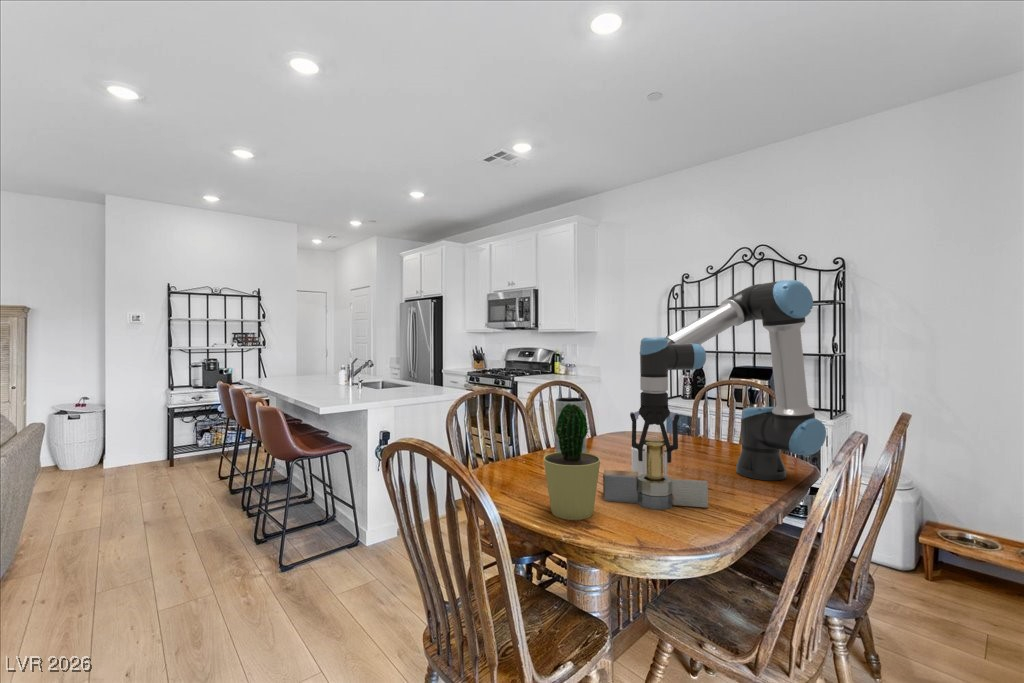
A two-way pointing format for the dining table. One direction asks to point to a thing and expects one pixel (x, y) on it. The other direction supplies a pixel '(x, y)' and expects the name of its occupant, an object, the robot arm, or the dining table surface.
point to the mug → (638, 464)
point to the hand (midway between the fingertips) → (654, 473)
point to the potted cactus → (572, 468)
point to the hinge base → (632, 493)
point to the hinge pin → (654, 459)
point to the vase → (559, 406)
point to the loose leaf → (676, 490)
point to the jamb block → (615, 472)
